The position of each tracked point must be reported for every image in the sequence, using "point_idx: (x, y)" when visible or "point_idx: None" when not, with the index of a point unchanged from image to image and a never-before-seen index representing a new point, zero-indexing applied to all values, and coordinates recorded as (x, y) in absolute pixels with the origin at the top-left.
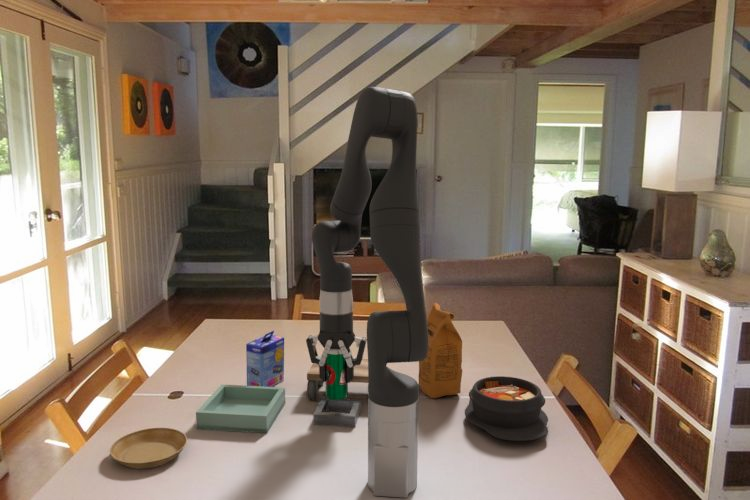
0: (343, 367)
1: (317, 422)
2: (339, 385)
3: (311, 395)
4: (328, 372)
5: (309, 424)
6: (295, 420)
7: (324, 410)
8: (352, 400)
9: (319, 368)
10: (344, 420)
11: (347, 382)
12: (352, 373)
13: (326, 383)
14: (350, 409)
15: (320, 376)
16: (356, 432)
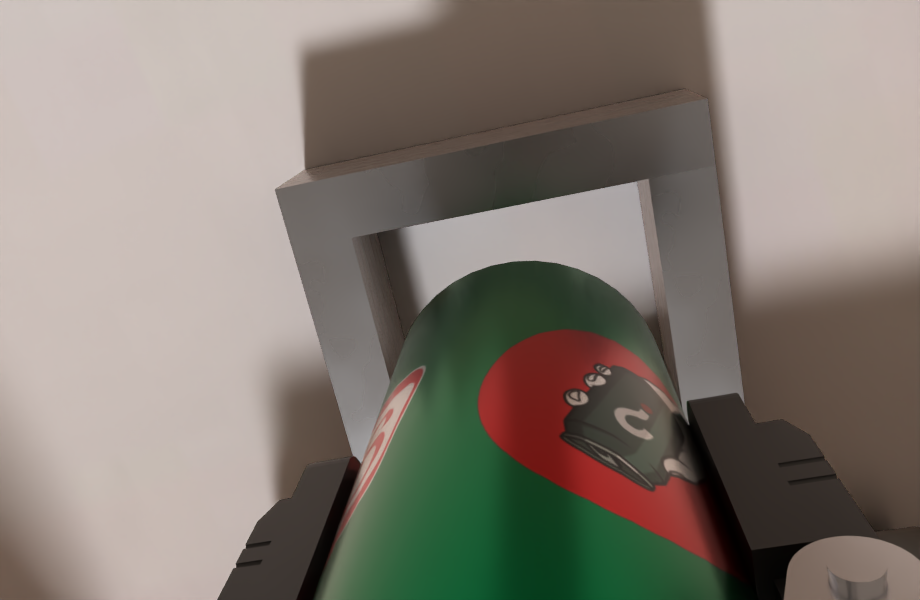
0: (323, 574)
1: (652, 100)
2: (431, 355)
3: (882, 537)
4: (628, 437)
5: (730, 85)
6: (896, 121)
7: (663, 328)
8: None
9: (866, 527)
10: (385, 158)
11: (347, 459)
12: (239, 573)
13: (653, 372)
14: None
15: (791, 442)
16: (251, 77)
